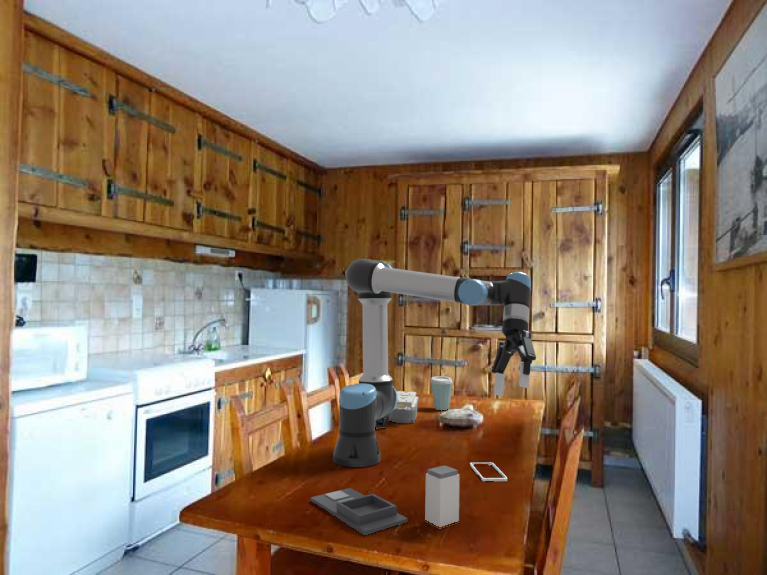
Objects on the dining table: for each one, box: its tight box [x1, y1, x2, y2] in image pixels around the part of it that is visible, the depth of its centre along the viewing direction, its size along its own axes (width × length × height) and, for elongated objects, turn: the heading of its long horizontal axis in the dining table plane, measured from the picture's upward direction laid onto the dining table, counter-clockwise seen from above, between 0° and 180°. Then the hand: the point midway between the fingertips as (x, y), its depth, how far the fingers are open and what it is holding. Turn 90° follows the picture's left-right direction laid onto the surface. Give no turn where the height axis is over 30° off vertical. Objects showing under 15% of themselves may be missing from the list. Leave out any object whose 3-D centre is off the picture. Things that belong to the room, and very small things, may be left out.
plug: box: [424, 464, 460, 527], centre depth 125 cm, size 5×6×12 cm
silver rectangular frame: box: [469, 461, 508, 483], centre depth 160 cm, size 7×1×15 cm
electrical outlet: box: [388, 390, 420, 424], centre depth 231 cm, size 12×28×10 cm, turn 171°
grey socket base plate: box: [310, 487, 409, 536], centre depth 130 cm, size 24×12×3 cm, turn 37°
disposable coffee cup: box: [429, 375, 454, 412], centre depth 251 cm, size 11×11×15 cm
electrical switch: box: [375, 415, 389, 429], centre depth 212 cm, size 9×5×9 cm, turn 113°
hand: (510, 391), depth 151 cm, fingers open, 13 cm apart
